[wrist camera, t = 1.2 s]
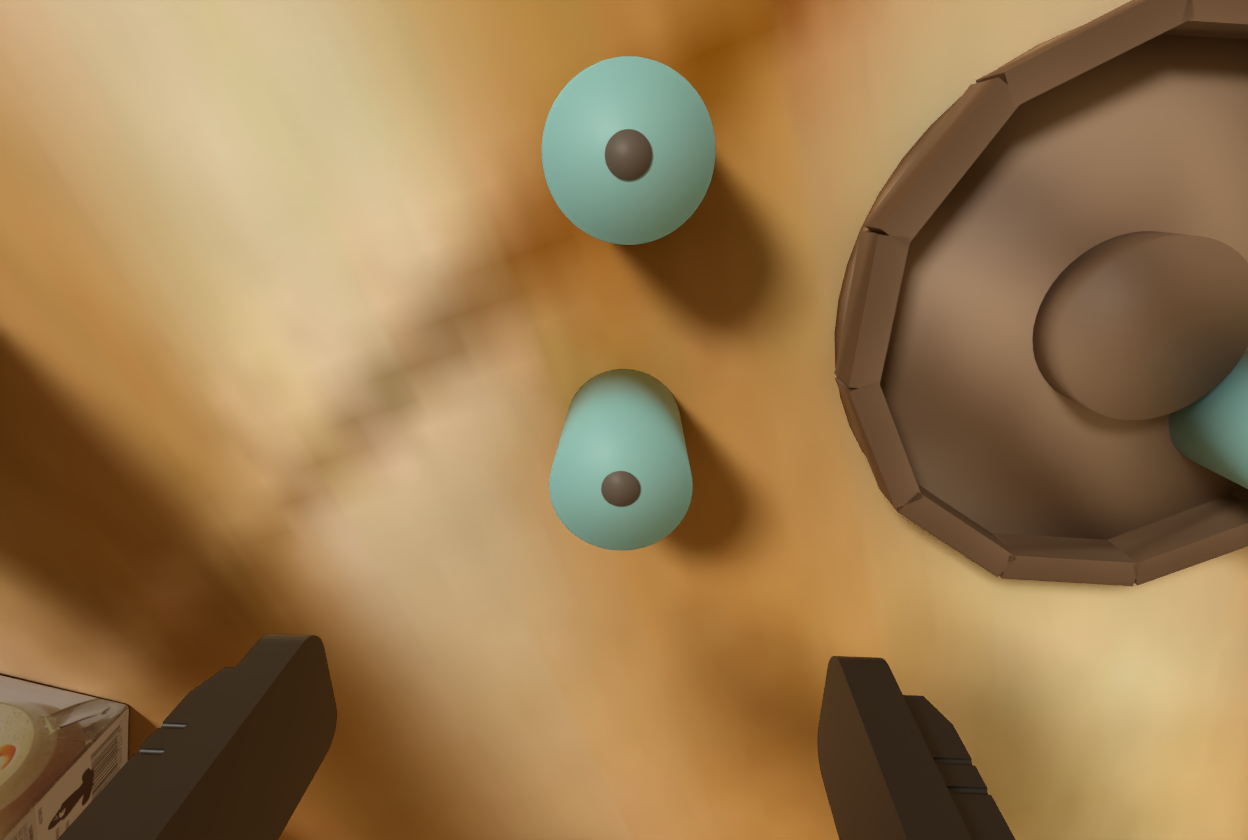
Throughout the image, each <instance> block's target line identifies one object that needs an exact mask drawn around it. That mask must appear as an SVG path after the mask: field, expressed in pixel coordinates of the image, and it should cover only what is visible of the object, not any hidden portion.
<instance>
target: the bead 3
mask: <svg viewBox="0 0 1248 840" xmlns="http://www.w3.org/2000/svg"><path fill="white" fill-rule="evenodd" d="M1169 434H1170V437H1171V441H1172V443H1173V444H1174V446H1175V448H1176V449H1177V450H1178V451H1179V452H1180V453H1181V454H1182V455H1183V456H1185V457H1186V458H1188V459H1189V460H1191V461H1193V462H1195V463H1197V464H1199V465H1201V466H1203V467H1205V468H1207V469H1209V470H1211V471H1213V472H1215V473H1217V474H1219V475H1221V476H1223V477H1225V478H1227V479H1229V480H1231V481H1233V482H1235V483H1237V484H1239V485H1241V486H1243V487H1245V488H1247V489H1248V350H1246V351H1245V353H1244V354H1243V356H1242V358H1241V359H1240V361H1239V362H1238V363H1237V365H1236V366H1235V367H1234V369H1233V370H1232V371H1231V372H1230V373H1229V374H1228V375H1227V376H1226V378H1225V379H1224V380H1223V381H1222V382H1221V383H1220V384H1218V385H1217V386H1216V387H1215V388H1214V389H1213V390H1211V391H1210V392H1209V393H1207V394H1206V395H1205V396H1203V397H1202V398H1200V399H1199V400H1197V401H1195V402H1194V403H1192V404H1190V405H1188V406H1186V407H1184V408H1182V409H1180V410H1178V411H1175V412H1173V413H1170V417H1169Z"/></svg>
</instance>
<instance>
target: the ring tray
mask: <svg viewBox="0 0 1248 840" xmlns="http://www.w3.org/2000/svg"><path fill="white" fill-rule="evenodd" d="M976 82H977V83H976V84H972V85H970V86H969V88H968V89H967V90H966V92H965V93H964V94H963V96H961V97H960V98H959V99H958V100H957V101H956V102H955V103H954V104H953V105H952V106H951V107H950V108H949V109H948V110H947V111H946V112H945V113H943V114H942V115H941V116H940V117H939V118H938V119H937V120H936V121H935V122H934V123H933V124H932V125H931V126H930V127H929V128H928V129H927V131H926V132H925V133H924V134H923V135H922V136H921V138H920V139H919V140H918V141H917V142H916V143H915V145H914V146H913V147H912V148H911V149H910V151H909V152H908V153H907V154H906V155H905V156H904V158H903V159H902V160H901V162H900V163H899V165H898V166H897V168H896V169H895V171H894V172H893V174H892V175H891V177H890V178H889V180H888V181H887V183H886V184H885V186H884V187H883V189H882V190H881V191H880V193H879V195H878V197H877V199H876V201H875V202H874V204H873V206H872V208H871V210H870V212H869V214H868V216H867V218H866V220H865V222H864V224H863V226H862V227H861V230H860V232H859V235H858V237H857V240H856V243H855V245H854V248H853V251H852V253H851V256H850V259H849V261H848V264H847V267H846V272H845V276H844V280H843V284H842V288H841V292H840V296H839V300H838V309H837V318H836V327H835V367H836V369H835V374H836V375H837V378H835V379H836V382H837V384H838V387H839V392H840V397H841V401H842V404H843V407H844V410H845V413H846V416H847V419H848V422H849V426H850V428H851V430H852V432H853V434H854V436H855V438H856V440H857V442H858V444H859V446H860V448H861V450H862V452H863V453H864V454H865V456H866V457H867V459H868V461H869V464H870V466H871V469H872V471H873V474H874V476H875V479H876V481H877V484H878V486H879V489H880V490H881V491H882V492H883V494H884V495H885V496H886V498H887V499H888V500H889V501H890V503H891V504H892V505H893V506H894V508H895V509H896V510H897V511H898V513H900V514H902V515H903V516H905V517H906V518H908V519H909V520H911V521H912V522H914V523H915V524H917V525H918V526H920V527H922V528H923V529H925V530H926V531H928V532H929V533H931V534H932V535H934V536H935V537H937V538H938V539H940V540H942V541H943V542H945V543H946V544H948V545H949V546H951V547H952V548H954V549H955V550H957V551H958V552H960V553H962V554H963V555H965V556H966V557H968V558H969V559H971V560H972V561H974V562H975V563H977V564H978V565H980V566H982V567H983V568H985V569H986V570H988V571H989V572H991V573H992V574H994V575H995V576H997V577H998V576H1000V577H1001V578H1005V579H1022V580H1039V581H1056V582H1073V583H1090V584H1107V585H1123V586H1133V584H1134V583H1136V584H1137V585H1140V584H1143V583H1145V582H1148V581H1151V580H1154V579H1157V578H1160V577H1162V576H1165V575H1168V574H1171V573H1174V572H1176V571H1179V570H1182V569H1185V568H1188V567H1190V566H1193V565H1196V564H1199V563H1202V562H1205V561H1207V560H1210V559H1213V558H1216V557H1219V556H1221V555H1224V554H1227V553H1230V552H1233V551H1235V550H1238V549H1241V548H1244V547H1247V546H1248V489H1247V488H1245V487H1243V486H1241V485H1239V484H1237V483H1235V482H1233V481H1231V480H1229V479H1227V478H1225V477H1223V476H1221V475H1219V474H1217V473H1215V472H1213V471H1211V470H1209V469H1207V468H1205V467H1203V466H1201V465H1199V464H1197V463H1195V462H1193V461H1191V460H1189V459H1188V458H1186V457H1185V456H1183V455H1182V454H1181V453H1180V452H1179V451H1178V450H1177V449H1176V448H1175V446H1174V444H1173V443H1172V441H1171V437H1170V434H1169V417H1170V413H1173V412H1175V411H1178V410H1180V409H1182V408H1184V407H1186V406H1188V405H1190V404H1192V403H1194V402H1195V401H1197V400H1199V399H1200V398H1202V397H1203V396H1205V395H1206V394H1207V393H1209V392H1210V391H1211V390H1213V389H1214V388H1215V387H1216V386H1217V385H1218V384H1220V383H1221V382H1222V381H1223V380H1224V379H1225V378H1226V376H1227V375H1228V374H1229V373H1230V372H1231V371H1232V370H1233V369H1234V367H1235V366H1236V365H1237V363H1238V362H1239V361H1240V359H1241V358H1242V356H1243V354H1244V353H1245V351H1246V350H1248V0H1132V1H1130V2H1128V3H1126V4H1124V5H1122V6H1120V7H1118V8H1116V9H1114V10H1112V11H1110V12H1108V13H1107V14H1105V15H1103V16H1101V17H1099V18H1097V19H1095V20H1093V21H1091V22H1089V23H1087V24H1085V25H1083V26H1080V27H1078V28H1076V29H1073V30H1071V31H1069V32H1066V33H1064V34H1062V35H1060V36H1057V37H1055V38H1053V39H1051V40H1048V41H1046V42H1044V43H1041V44H1039V45H1037V46H1035V47H1034V48H1032V49H1030V50H1029V51H1027V52H1025V53H1024V54H1022V55H1020V56H1018V57H1017V58H1015V59H1013V60H1012V61H1010V62H1008V63H1007V64H1005V65H1003V66H1002V67H1000V68H998V69H997V70H995V71H993V72H991V73H990V74H988V75H986V76H984V77H982V78H980V79H978V80H976Z"/></svg>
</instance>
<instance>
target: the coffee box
mask: <svg viewBox="0 0 1248 840" xmlns="http://www.w3.org/2000/svg"><path fill="white" fill-rule="evenodd" d="M128 720H129V708H128V706H127V705H125V704H122V703H117V702H113V701H109V700H105V699H101V698H96V697H92V696H87V695H83V694H79V693H74V692H70V691H66V690H61V689H57V688H53V687H49V686H44V685H40V684H36V683H32V682H28V681H23V680H19V679H14V678H10V677H6V676H2V675H0V840H57V839H58V838H59V837H60V836H61V835H62V834H63V833H64V831H65V830H66V829H67V828H68V827H69V826H70V825H71V824H72V823H73V821H74V820H75V819H76V818H77V817H78V816H79V815H80V814H81V813H82V811H83V810H84V809H85V808H86V807H87V806H88V805H89V804H90V803H91V801H92V800H93V799H94V798H95V797H96V796H97V795H98V794H99V793H100V791H101V790H102V789H103V788H104V787H105V786H106V785H107V784H108V782H109V781H110V780H111V779H112V778H113V777H114V776H115V775H116V774H117V772H118V771H119V770H120V769H121V768H122V767H123V766H124V765H125V764H126V762H127V761H128Z"/></svg>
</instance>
